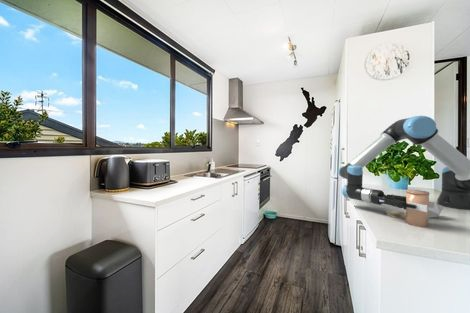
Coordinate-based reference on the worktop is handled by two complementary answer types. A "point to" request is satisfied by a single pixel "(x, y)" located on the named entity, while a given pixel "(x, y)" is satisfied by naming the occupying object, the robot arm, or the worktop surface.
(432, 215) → the die
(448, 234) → the worktop surface
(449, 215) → the worktop surface
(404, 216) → the disc
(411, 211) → the jar
